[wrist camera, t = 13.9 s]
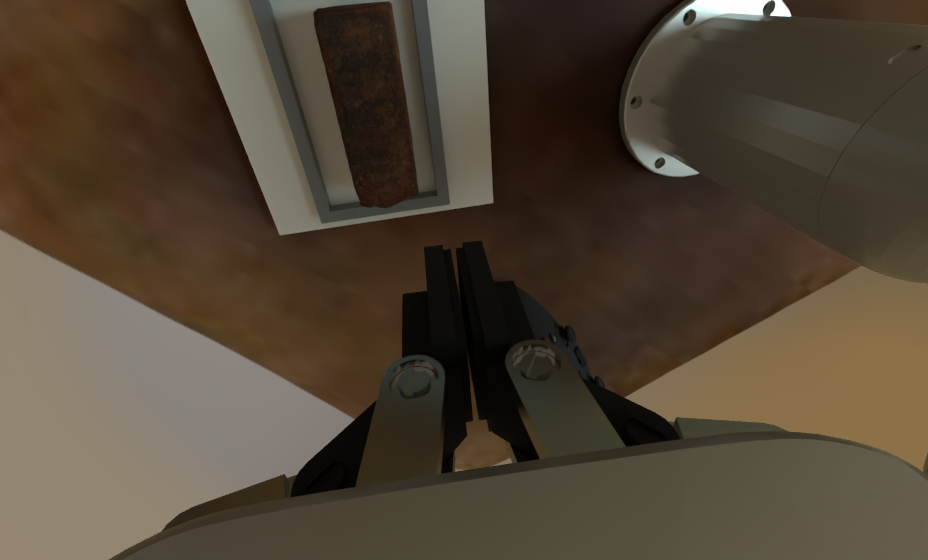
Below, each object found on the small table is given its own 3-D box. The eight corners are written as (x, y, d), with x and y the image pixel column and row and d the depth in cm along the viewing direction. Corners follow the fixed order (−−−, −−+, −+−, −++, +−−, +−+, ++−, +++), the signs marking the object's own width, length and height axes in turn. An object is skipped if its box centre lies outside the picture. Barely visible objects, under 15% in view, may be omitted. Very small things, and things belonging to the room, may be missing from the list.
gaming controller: (591, 339, 44) (639, 417, 36) (545, 368, 45) (580, 450, 37) (522, 258, 36) (563, 334, 28) (469, 296, 38) (493, 379, 30)
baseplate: (476, -69, 23) (484, -74, 21) (490, 196, 32) (496, 208, 30) (177, -41, 21) (159, -43, 20) (282, 227, 31) (276, 242, 29)
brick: (319, 6, 23) (307, 10, 19) (391, 0, 23) (393, 2, 19) (361, 186, 29) (358, 216, 25) (417, 179, 29) (422, 208, 25)
